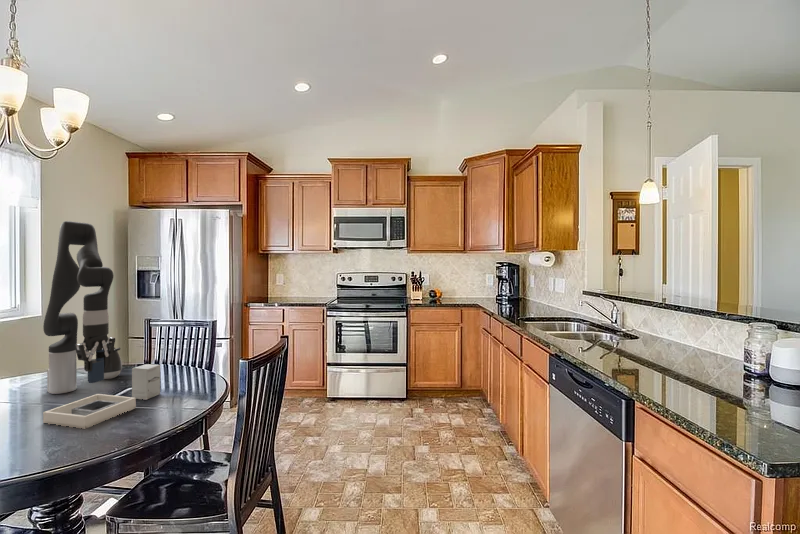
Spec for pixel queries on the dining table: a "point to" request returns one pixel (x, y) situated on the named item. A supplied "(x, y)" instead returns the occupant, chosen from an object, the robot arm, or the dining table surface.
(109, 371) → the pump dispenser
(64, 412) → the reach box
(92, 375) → the vaping device
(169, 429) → the dining table surface
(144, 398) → the supplement box
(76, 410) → the inlet socket
